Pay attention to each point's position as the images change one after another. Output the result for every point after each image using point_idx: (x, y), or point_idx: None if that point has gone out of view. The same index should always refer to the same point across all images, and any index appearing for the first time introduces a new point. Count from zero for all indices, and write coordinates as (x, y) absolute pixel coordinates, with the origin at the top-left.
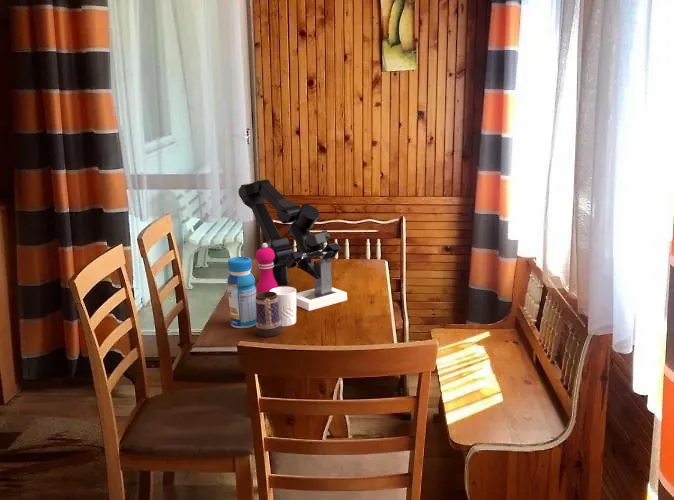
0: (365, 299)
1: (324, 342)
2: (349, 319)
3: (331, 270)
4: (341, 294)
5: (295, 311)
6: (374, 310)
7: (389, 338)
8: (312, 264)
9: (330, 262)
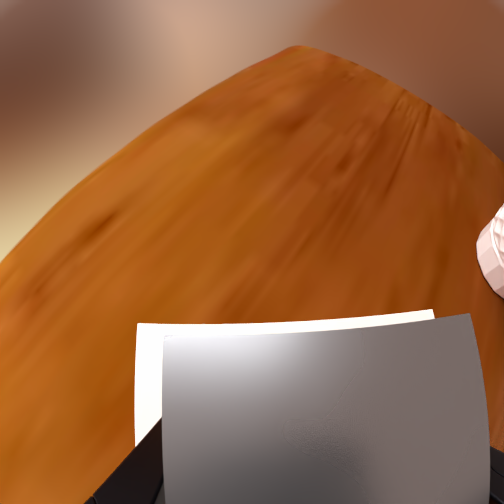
0: (83, 275)
1: (424, 106)
2: (307, 145)
3: (149, 435)
4: (185, 324)
5: (500, 212)
6: (171, 153)
7: (289, 49)
8: (499, 493)
9: (190, 336)
